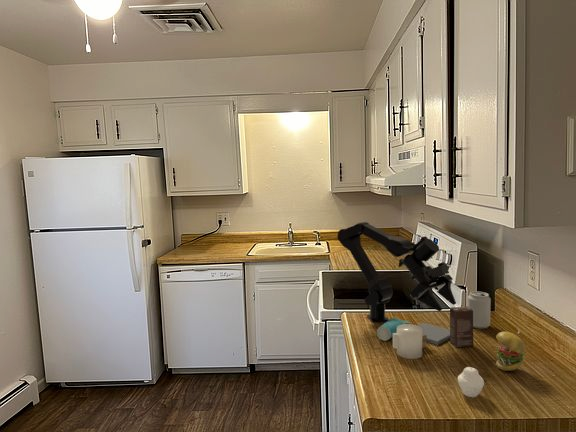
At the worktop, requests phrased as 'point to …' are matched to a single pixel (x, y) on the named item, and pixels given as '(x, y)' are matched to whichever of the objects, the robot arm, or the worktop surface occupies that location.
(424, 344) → the walnut block
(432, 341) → the coaster
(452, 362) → the worktop surface
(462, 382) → the muffin
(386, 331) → the tube
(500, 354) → the hamburger
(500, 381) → the worktop surface
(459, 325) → the box
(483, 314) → the can
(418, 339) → the white tapered cup
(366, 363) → the worktop surface
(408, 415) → the worktop surface
